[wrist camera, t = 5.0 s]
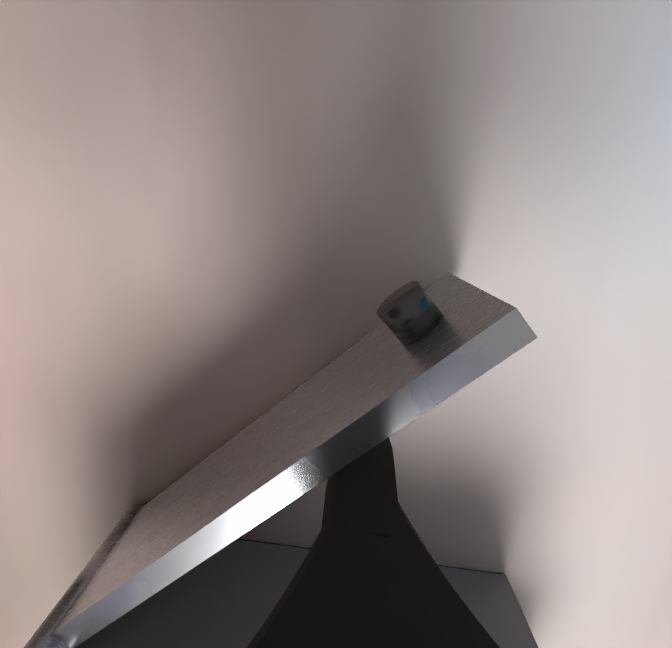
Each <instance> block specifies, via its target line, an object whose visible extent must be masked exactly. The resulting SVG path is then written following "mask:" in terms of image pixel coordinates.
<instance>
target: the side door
mask: <svg viewBox="0 0 672 648" xmlns="http://www.w3.org/2000/svg"><path fill="white" fill-rule="evenodd" d="M377 315H378V316H379V317H380V318H381V319H382V321H383V323H381V324H380V325H379V326H378V327H376V328H375V329H374V330H372V331H371V332H370V333H368V334H367V335H366V336H365V337H363V338H362V339H361V340H359V341H358V342H357V343H355V344H354V345H353V346H351V347H350V348H349V349H348V350H346V351H345V352H344V353H342V354H341V355H340V356H338V357H337V358H336V359H335V360H333V361H332V362H331V363H329V364H328V365H327V366H325V367H324V368H323V369H321V370H320V371H319V372H318V373H316V374H315V375H314V376H312V377H311V378H310V379H308V380H307V381H306V382H305V383H303V384H302V385H301V386H299V387H298V388H297V389H295V390H294V391H293V392H291V393H290V394H289V395H288V396H286V397H285V398H284V399H282V400H281V401H280V402H278V403H277V404H276V405H275V406H273V407H272V408H271V409H269V410H268V411H267V412H265V413H264V414H263V415H262V416H260V417H259V418H258V419H256V420H255V421H254V422H252V423H251V424H250V425H248V426H247V427H246V428H245V429H243V430H242V431H241V432H239V433H238V434H237V435H235V436H234V437H233V438H232V439H230V440H229V441H228V442H226V443H225V444H224V445H222V446H221V447H220V448H218V449H217V450H216V451H215V452H213V453H212V454H211V455H209V456H208V457H207V458H205V459H204V460H203V461H202V462H200V463H199V464H198V465H196V466H195V467H194V468H192V469H191V470H190V471H188V472H187V473H186V474H185V475H183V476H182V477H181V478H179V479H178V480H177V481H175V482H174V483H173V484H172V485H170V486H169V487H168V488H166V489H165V490H164V491H162V492H161V493H160V494H159V495H157V496H156V497H155V498H153V499H152V500H151V501H149V502H148V503H147V504H145V505H134V506H132V507H131V508H130V509H129V510H128V511H127V512H126V514H125V515H124V516H123V518H122V519H121V520H120V522H119V523H118V524H117V526H116V527H115V528H114V530H113V531H112V532H111V534H110V535H109V536H108V537H107V539H106V540H105V541H104V543H103V544H102V545H101V547H100V548H99V549H98V551H97V552H96V553H95V555H94V556H93V557H92V559H91V560H90V561H89V563H88V564H87V565H86V567H85V568H84V569H83V570H82V572H81V573H80V574H79V576H78V577H77V578H76V580H75V581H74V582H73V584H72V585H71V586H70V588H69V589H68V590H67V592H66V593H65V594H64V596H63V597H62V598H61V599H60V601H59V602H58V603H57V605H56V606H55V607H54V609H53V610H52V611H51V613H50V614H49V615H48V617H47V618H46V619H45V621H44V622H43V623H42V625H41V626H40V627H39V628H38V630H37V631H36V632H35V634H34V635H33V636H32V638H31V639H30V640H29V642H28V643H27V644H26V646H25V647H24V648H78V646H79V644H81V643H82V642H84V641H85V640H87V639H88V638H90V637H91V636H93V635H94V634H96V633H97V632H99V631H100V630H102V629H103V628H105V627H106V626H108V625H109V624H111V623H112V622H114V621H115V620H117V619H118V618H120V617H121V616H123V615H124V614H126V613H127V612H128V611H130V610H131V609H133V608H134V607H136V606H137V605H139V604H140V603H142V602H143V601H145V600H146V599H148V598H149V597H151V596H152V595H154V594H155V593H157V592H158V591H160V590H161V589H163V588H164V587H166V586H167V585H169V584H170V583H172V582H173V581H175V580H176V579H178V578H179V577H181V576H182V575H184V574H185V573H187V572H188V571H190V570H191V569H193V568H194V567H196V566H197V565H199V564H200V563H202V562H203V561H205V560H206V559H208V558H209V557H211V556H212V555H214V554H215V553H217V552H218V551H220V550H221V549H223V548H224V547H226V546H227V545H229V544H230V543H232V542H233V541H235V540H236V539H237V538H239V537H240V536H242V535H243V534H245V533H246V532H248V531H249V530H251V529H252V528H254V527H255V526H257V525H258V524H260V523H261V522H263V521H264V520H266V519H267V518H269V517H270V516H272V515H273V514H275V513H276V512H278V511H279V510H281V509H282V508H284V507H285V506H287V505H288V504H290V503H291V502H293V501H294V500H296V499H297V498H299V497H300V496H302V495H303V494H305V493H306V492H308V491H309V490H311V489H312V488H314V487H315V486H317V485H318V484H320V483H321V482H323V481H324V480H326V479H327V478H329V477H330V476H332V475H333V474H335V473H336V472H338V471H339V470H341V469H342V468H344V467H345V466H346V465H348V464H349V463H351V462H352V461H354V460H355V459H357V458H358V457H360V456H361V455H363V454H364V453H366V452H367V451H369V450H370V449H372V448H373V447H375V446H376V445H378V444H379V443H381V442H382V441H384V440H385V439H387V438H388V437H390V436H391V435H393V434H394V433H396V432H397V431H399V430H400V429H402V428H403V427H405V426H406V425H408V424H409V423H411V422H412V421H414V420H415V419H417V418H418V417H420V416H421V415H423V414H424V413H426V412H427V411H429V410H430V409H432V408H433V407H435V406H436V405H438V404H439V403H441V402H442V401H444V400H445V399H447V398H448V397H450V396H451V395H453V394H454V393H455V392H457V391H458V390H460V389H461V388H463V387H464V386H466V385H467V384H469V383H470V382H472V381H473V380H475V379H476V378H478V377H479V376H481V375H482V374H484V373H485V372H487V371H488V370H490V369H491V368H493V367H494V366H496V365H497V364H499V363H500V362H502V361H503V360H505V359H506V358H508V357H509V356H511V355H512V354H514V353H515V352H517V351H518V350H520V349H521V348H523V347H524V346H526V345H527V344H529V343H530V342H532V341H533V340H535V339H536V338H537V336H536V335H535V333H534V332H533V331H532V329H531V328H530V326H529V325H528V324H527V322H526V321H525V319H524V318H523V317H522V315H521V314H520V312H519V311H518V310H517V308H516V307H514V306H512V305H510V304H508V303H506V302H504V301H502V300H500V299H498V298H496V297H494V296H492V295H491V294H489V293H487V292H485V291H483V290H481V289H479V288H477V287H475V286H473V285H471V284H469V283H468V282H466V281H464V280H462V279H460V278H458V277H456V276H454V275H452V274H450V273H447V274H445V275H444V276H443V277H441V278H440V279H439V280H438V281H436V282H435V283H434V284H432V285H431V286H430V287H428V288H427V289H426V290H424V289H423V288H422V287H421V285H420V284H419V283H418V282H417V281H414V282H410V283H408V284H406V285H404V286H403V287H401V288H399V289H398V290H397V291H395V292H394V293H393V294H391V295H390V296H389V297H388V298H387V299H386V300H385V301H384V302H383V303H382V304H381V305H380V307H379V308H378V310H377Z"/></svg>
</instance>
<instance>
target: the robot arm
mask: <svg viewBox="0 0 672 648" xmlns="http://www.w3.org/2000/svg"><path fill="white" fill-rule="evenodd" d="M247 648H500V647H499V646H498V644H497V643H496V642H495V641H494V640H493V638H492V637H491V636H490V635H489V633H488V632H487V631H486V630H485V629H484V627H483V626H482V625H481V623H480V622H479V621H478V620H477V618H476V617H475V616H474V614H473V613H472V612H471V610H470V609H469V607H468V606H467V605H466V603H465V602H464V601H463V599H462V598H461V597H460V595H459V594H458V593H457V591H456V590H455V589H454V587H453V586H452V585H451V583H450V582H449V580H448V579H447V577H446V576H445V575H444V573H443V572H442V570H441V569H440V567H439V566H438V565H437V563H436V562H435V560H434V559H433V557H432V556H431V554H430V553H429V551H428V550H427V548H426V547H425V545H424V544H423V542H422V540H421V539H420V537H419V536H418V534H417V533H416V531H415V529H414V528H413V526H412V524H411V523H410V521H409V519H408V518H407V516H406V514H405V513H404V511H403V509H402V508H401V506H400V504H399V502H398V498H397V488H396V478H395V468H394V459H393V450H392V446H391V443H390V440H389V437H388V438H387V439H385V440H384V441H382V442H381V443H379V444H378V445H376V446H375V447H373V448H372V449H370V450H369V451H367V452H366V453H364V454H363V455H361V456H360V457H358V458H357V459H355V460H354V461H352V462H351V463H349V464H348V465H346V466H345V467H344V468H342V469H341V470H339V471H338V472H336V473H335V474H333V475H332V476H330V477H329V478H328V480H327V486H326V494H325V503H324V512H323V521H322V529H321V531H320V533H319V535H318V537H317V538H316V540H315V542H314V544H313V546H312V547H311V549H310V551H309V553H308V554H307V556H306V558H305V559H304V561H303V563H302V565H301V566H300V568H299V569H298V571H297V573H296V574H295V576H294V577H293V579H292V581H291V582H290V584H289V585H288V587H287V589H286V590H285V592H284V593H283V595H282V597H281V598H280V600H279V601H278V603H277V604H276V606H275V607H274V609H273V610H272V612H271V613H270V615H269V616H268V618H267V619H266V621H265V622H264V624H263V625H262V627H261V628H260V629H259V631H258V632H257V634H256V635H255V636H254V638H253V639H252V641H251V642H250V643H249V645H248V646H247Z"/></svg>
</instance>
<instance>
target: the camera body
mask: <svg viewBox="0 0 672 648" xmlns="http://www.w3.org/2000/svg"><path fill="white" fill-rule="evenodd" d="M309 551H310V549H306V548H299V547H291V546H284V545H276V544H268V543H261V542H253V541H246V540H238V539H236V540H235V541H233V542H232V543H230V544H229V545H227V546H226V547H224V548H223V549H221V550H220V551H218V552H217V553H215V554H214V555H212V556H211V557H209V558H208V559H206V560H205V561H203V562H202V563H200V564H199V565H197V566H196V567H194V568H193V569H191V570H190V571H188V572H187V573H185V574H184V575H182V576H181V577H179V578H178V579H176V580H175V581H173V582H172V583H170V584H169V585H167V586H166V587H164V588H163V589H161V590H160V591H158V592H157V593H155V594H154V595H152V596H151V597H149V598H148V599H146V600H145V601H143V602H142V603H140V604H139V605H137V606H136V607H134V608H133V609H131V610H130V611H128V612H127V613H126V614H124V615H123V616H121V617H120V618H118V619H117V620H115V621H114V622H112V623H111V624H109V625H108V626H106V627H105V628H103V629H102V630H100V631H99V632H97V633H96V634H94V635H93V636H91V637H90V638H88V639H87V640H85V641H84V642H82V643H81V644H79V646H78V648H247V646H248V645H249V643H250V642H251V641H252V639H253V638H254V636H255V635H256V634H257V632H258V631H259V629H260V628H261V627H262V625H263V624H264V622H265V621H266V619H267V618H268V616H269V615H270V613H271V612H272V610H273V609H274V607H275V606H276V604H277V603H278V601H279V600H280V598H281V597H282V595H283V593H284V592H285V590H286V589H287V587H288V585H289V584H290V582H291V581H292V579H293V577H294V576H295V574H296V573H297V571H298V569H299V568H300V566H301V565H302V563H303V561H304V559H305V558H306V556H307V554H308V553H309ZM439 567H440V569H441V570H442V572H443V573H444V575H445V576H446V577H447V579H448V580H449V582H450V583H451V585H452V586H453V587H454V589H455V590H456V591H457V593H458V594H459V595H460V597H461V598H462V599H463V601H464V602H465V603H466V605H467V606H468V607H469V609H470V610H471V612H472V613H473V614H474V616H475V617H476V618H477V620H478V621H479V622H480V623H481V625H482V626H483V627H484V629H485V630H486V631H487V632H488V633H489V635H490V636H491V637H492V638H493V640H494V641H495V642H496V643H497V644H498V646H499V647H500V648H538V646H537V644H536V641H535V639H534V637H533V635H532V632H531V630H530V628H529V626H528V623H527V621H526V619H525V617H524V614H523V612H522V610H521V608H520V605H519V603H518V601H517V599H516V597H515V594H514V592H513V590H512V588H511V585H510V583H509V581H508V579H507V576H506V575H504V574H496V573H489V572H481V571H473V570H466V569H458V568H451V567H443V566H439Z"/></svg>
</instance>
